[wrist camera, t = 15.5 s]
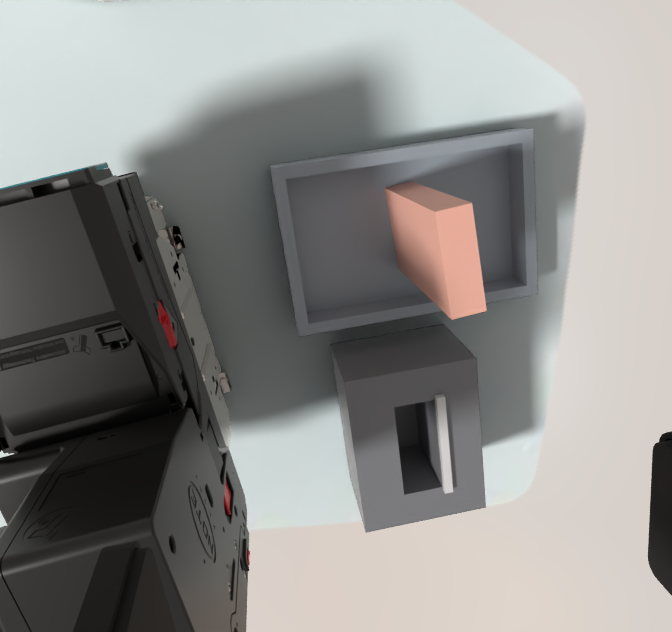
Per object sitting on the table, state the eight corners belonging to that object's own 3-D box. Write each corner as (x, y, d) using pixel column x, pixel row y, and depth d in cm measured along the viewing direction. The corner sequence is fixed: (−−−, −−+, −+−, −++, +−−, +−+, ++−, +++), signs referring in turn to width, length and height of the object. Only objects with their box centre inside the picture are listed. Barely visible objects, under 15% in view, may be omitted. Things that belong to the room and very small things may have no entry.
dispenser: (330, 344, 45) (344, 384, 38) (443, 324, 46) (478, 360, 39) (350, 477, 49) (366, 536, 42) (454, 456, 50) (487, 510, 43)
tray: (269, 165, 40) (270, 168, 38) (514, 128, 42) (533, 128, 39) (295, 323, 44) (299, 336, 41) (519, 283, 46) (537, 294, 43)
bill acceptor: (158, 148, 39) (22, 184, 16) (252, 440, 47) (256, 761, 23) (0, 187, 39) (-390, 286, 15) (121, 476, 46) (-11, 844, 23)
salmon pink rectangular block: (384, 187, 41) (434, 211, 30) (411, 181, 42) (472, 202, 30) (399, 268, 43) (451, 319, 32) (425, 262, 43) (486, 311, 32)
